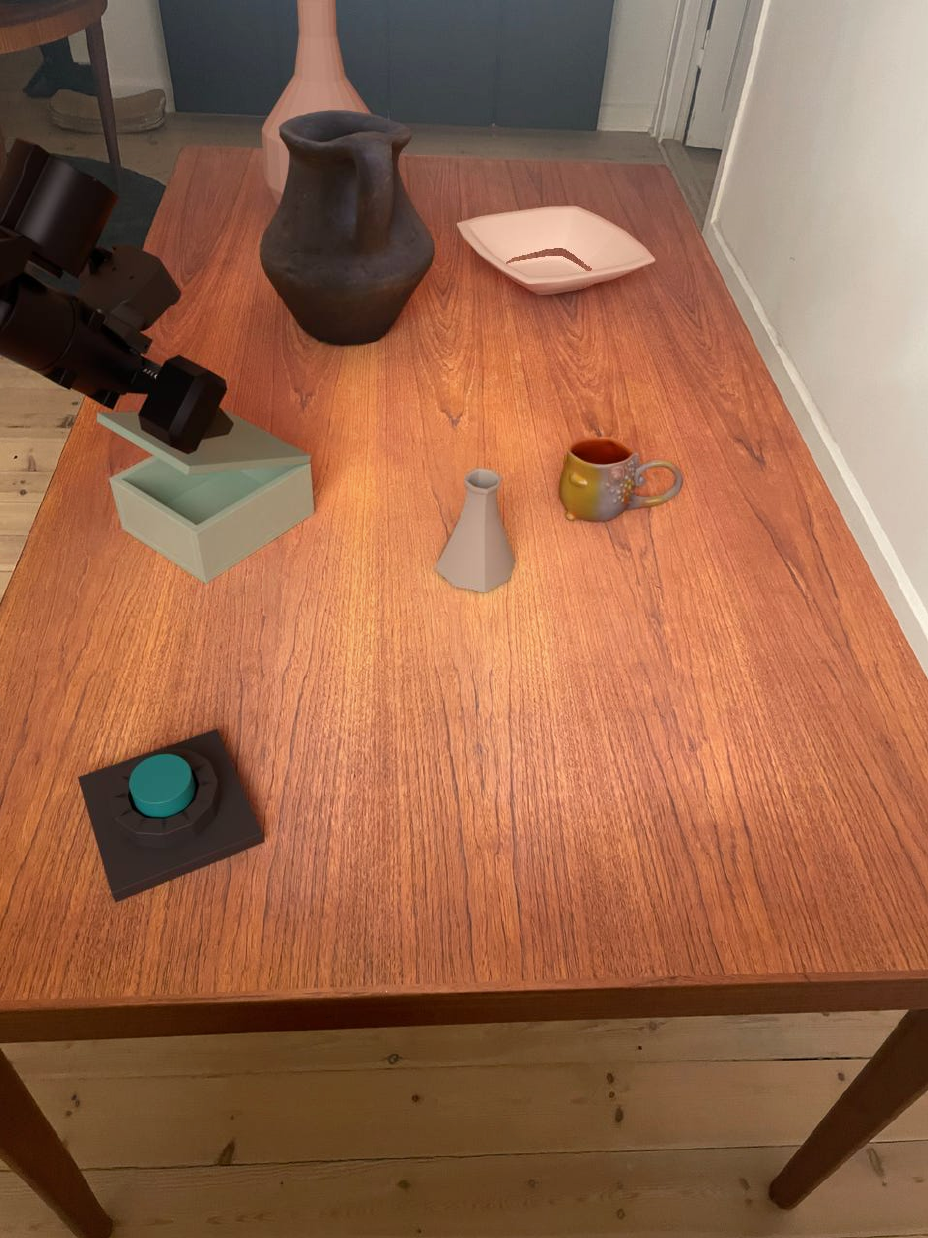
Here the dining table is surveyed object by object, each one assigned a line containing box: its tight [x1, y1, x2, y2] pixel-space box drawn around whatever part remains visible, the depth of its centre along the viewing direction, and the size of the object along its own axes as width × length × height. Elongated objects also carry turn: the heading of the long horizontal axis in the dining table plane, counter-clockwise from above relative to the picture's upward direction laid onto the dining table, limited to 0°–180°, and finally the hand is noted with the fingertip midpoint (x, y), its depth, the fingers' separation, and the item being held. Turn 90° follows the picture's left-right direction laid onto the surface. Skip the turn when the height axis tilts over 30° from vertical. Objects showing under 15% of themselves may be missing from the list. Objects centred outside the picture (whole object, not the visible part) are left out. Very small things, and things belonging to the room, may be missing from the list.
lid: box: [95, 409, 312, 475], centre depth 79 cm, size 14×12×5 cm
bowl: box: [456, 205, 656, 296], centre depth 126 cm, size 22×23×6 cm
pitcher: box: [259, 110, 436, 346], centre depth 106 cm, size 21×22×25 cm
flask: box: [434, 467, 516, 594], centre depth 80 cm, size 7×7×10 cm
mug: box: [558, 436, 684, 523], centre depth 89 cm, size 12×7×7 cm, turn 84°
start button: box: [129, 754, 195, 818], centre depth 61 cm, size 4×4×2 cm
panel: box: [77, 728, 265, 903], centre depth 62 cm, size 10×10×3 cm
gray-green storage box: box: [108, 455, 315, 585], centre depth 84 cm, size 14×12×6 cm
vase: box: [261, 0, 372, 207], centre depth 128 cm, size 18×18×30 cm
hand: (192, 408), depth 77 cm, fingers open, 9 cm apart
